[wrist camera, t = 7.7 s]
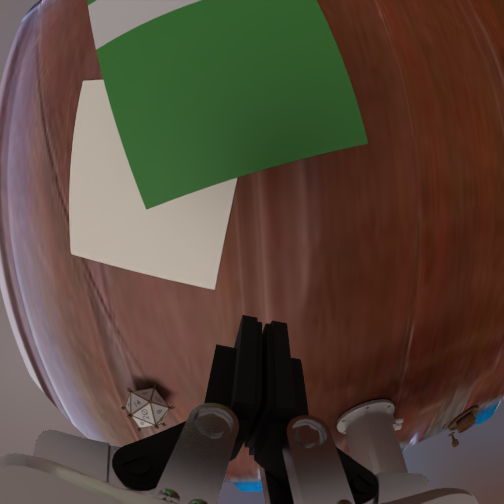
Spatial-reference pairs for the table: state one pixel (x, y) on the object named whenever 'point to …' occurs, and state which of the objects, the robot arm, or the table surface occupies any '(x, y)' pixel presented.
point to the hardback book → (221, 88)
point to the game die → (146, 407)
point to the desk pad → (138, 207)
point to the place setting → (462, 423)
